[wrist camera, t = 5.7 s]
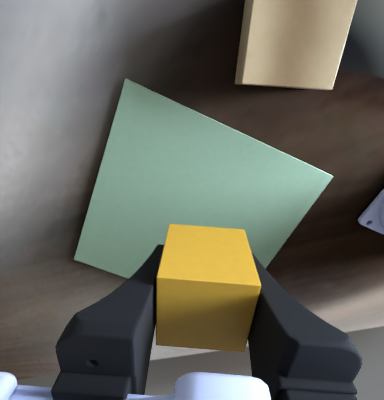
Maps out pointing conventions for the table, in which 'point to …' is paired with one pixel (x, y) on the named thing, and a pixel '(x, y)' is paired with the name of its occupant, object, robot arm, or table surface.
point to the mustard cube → (205, 288)
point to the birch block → (293, 42)
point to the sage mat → (188, 184)
